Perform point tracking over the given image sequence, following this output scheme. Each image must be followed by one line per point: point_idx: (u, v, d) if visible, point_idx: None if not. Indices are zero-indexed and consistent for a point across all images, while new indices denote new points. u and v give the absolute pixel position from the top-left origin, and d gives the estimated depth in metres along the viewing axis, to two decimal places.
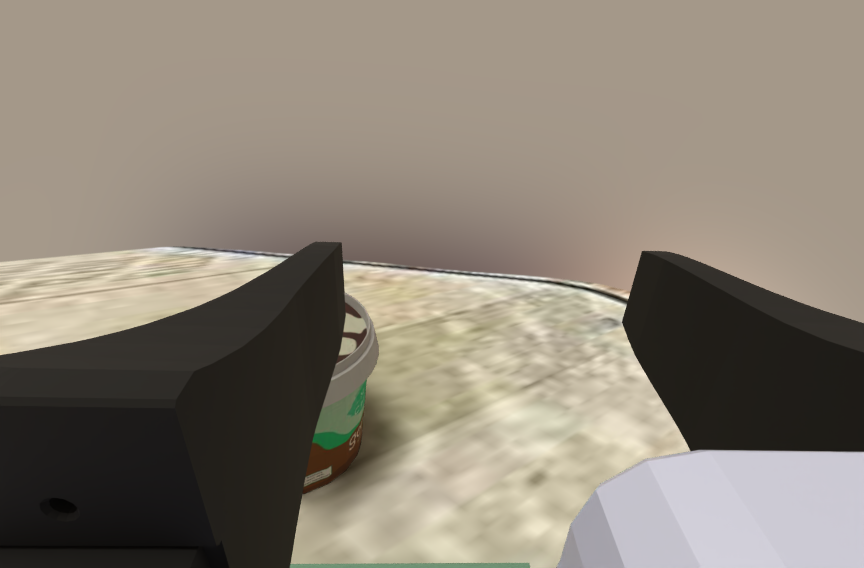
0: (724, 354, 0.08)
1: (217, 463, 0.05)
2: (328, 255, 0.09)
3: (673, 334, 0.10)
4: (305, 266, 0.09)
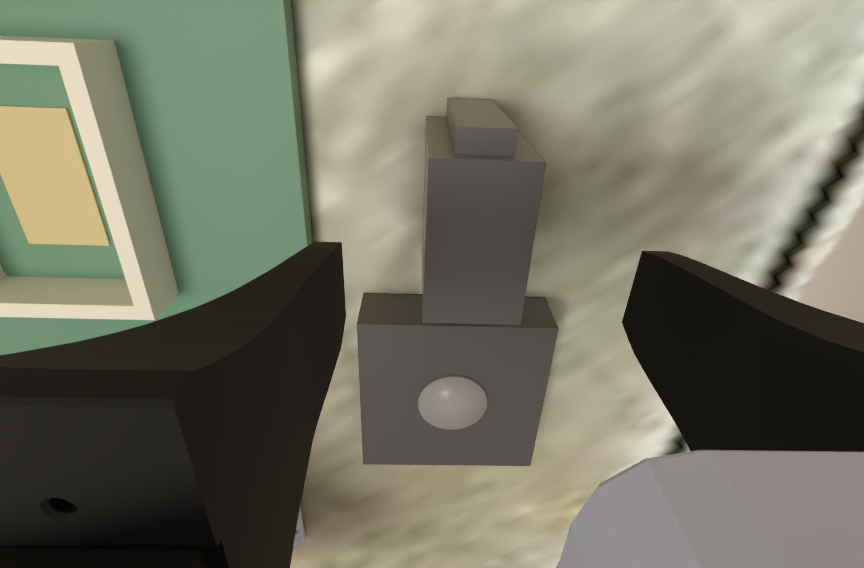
0: (724, 354, 0.08)
1: (217, 463, 0.05)
2: (328, 255, 0.09)
3: (673, 334, 0.10)
4: (305, 266, 0.09)
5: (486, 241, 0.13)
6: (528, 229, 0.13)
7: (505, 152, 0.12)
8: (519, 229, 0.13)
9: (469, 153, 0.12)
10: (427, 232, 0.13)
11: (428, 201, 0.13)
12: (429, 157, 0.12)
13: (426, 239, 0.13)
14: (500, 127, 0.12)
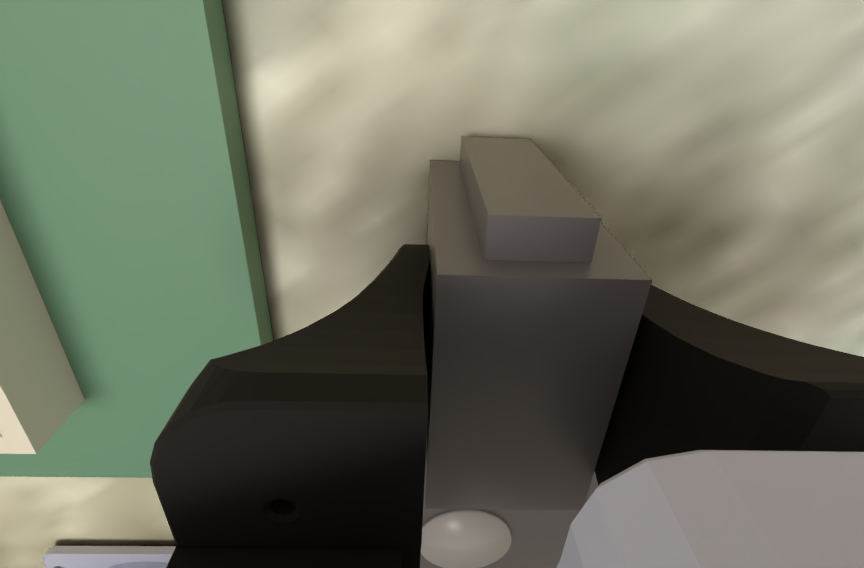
0: None
1: None
2: (429, 258, 0.10)
3: None
4: (414, 269, 0.09)
5: (534, 399, 0.08)
6: (609, 382, 0.08)
7: (574, 256, 0.07)
8: (593, 382, 0.08)
9: (509, 258, 0.07)
10: (434, 387, 0.07)
11: (436, 343, 0.07)
12: (439, 272, 0.07)
13: (432, 396, 0.08)
14: (568, 213, 0.07)
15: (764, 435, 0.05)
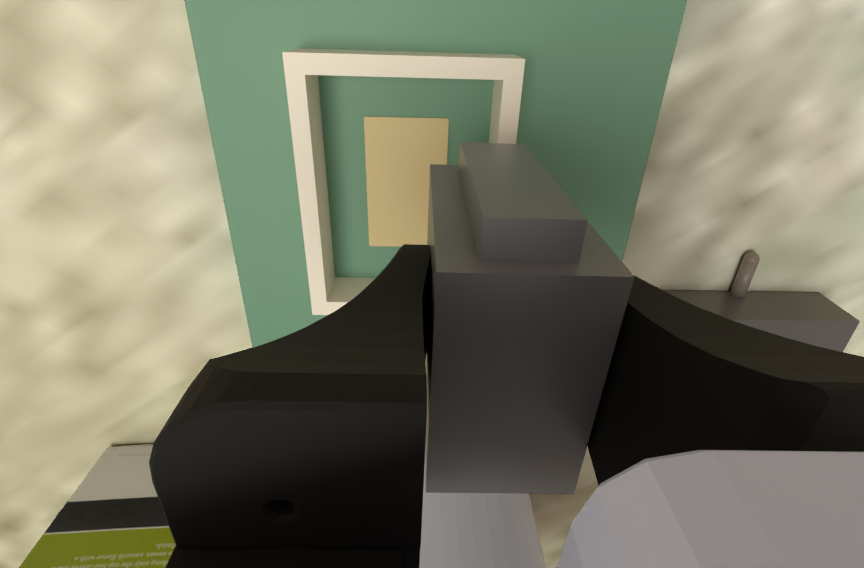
0: None
1: None
2: (429, 258, 0.10)
3: None
4: (414, 269, 0.09)
5: (527, 388, 0.08)
6: (596, 372, 0.08)
7: (563, 255, 0.08)
8: (582, 372, 0.08)
9: (503, 257, 0.08)
10: (434, 377, 0.08)
11: (435, 335, 0.08)
12: (438, 270, 0.07)
13: (432, 386, 0.08)
14: (557, 215, 0.07)
15: (765, 435, 0.05)
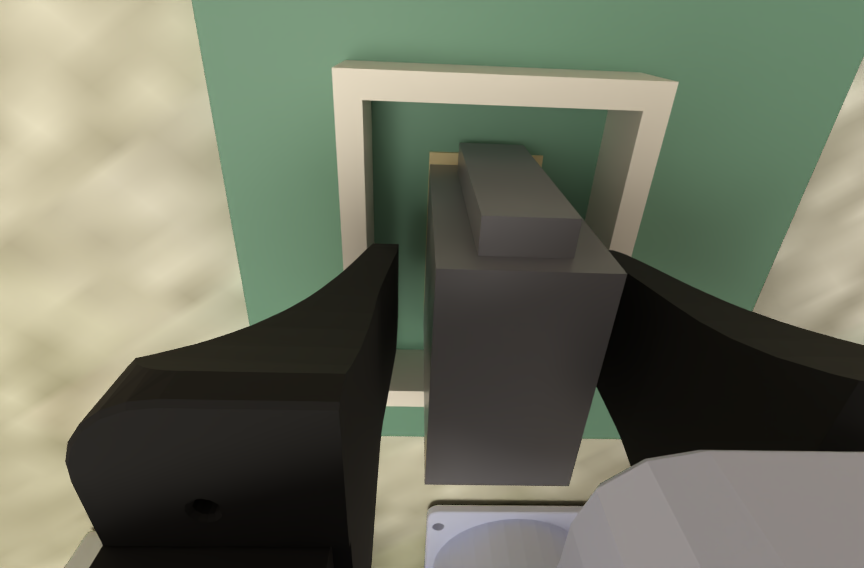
0: (652, 352, 0.08)
1: (350, 465, 0.05)
2: (393, 257, 0.10)
3: (611, 333, 0.10)
4: (375, 268, 0.09)
5: (523, 382, 0.08)
6: (590, 367, 0.08)
7: (558, 253, 0.08)
8: (576, 367, 0.08)
9: (500, 254, 0.08)
10: (433, 371, 0.08)
11: (435, 330, 0.08)
12: (437, 267, 0.07)
13: (431, 379, 0.08)
14: (552, 215, 0.08)
15: (835, 436, 0.05)
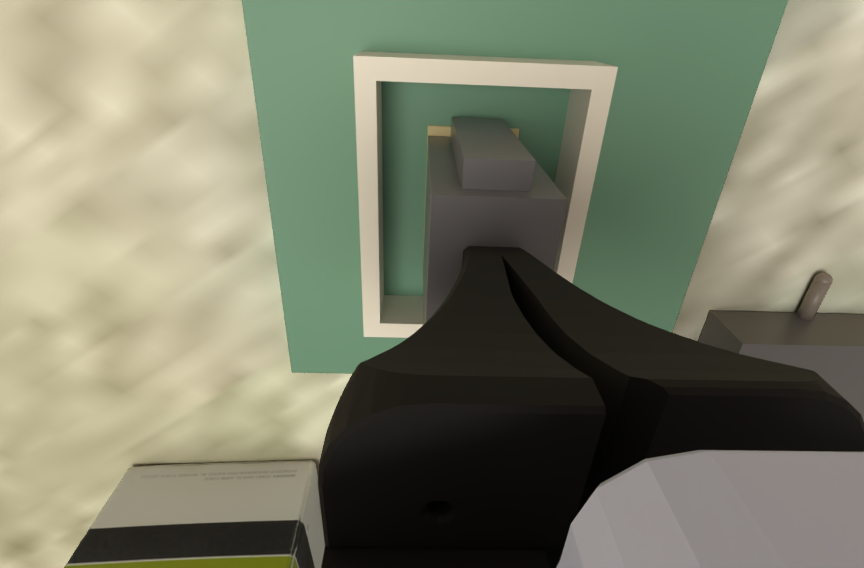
0: None
1: None
2: (502, 260, 0.10)
3: None
4: (493, 271, 0.09)
5: None
6: None
7: (519, 187, 0.11)
8: None
9: (478, 188, 0.11)
10: (429, 276, 0.11)
11: (431, 243, 0.11)
12: (432, 194, 0.10)
13: (428, 284, 0.12)
14: (514, 158, 0.11)
15: (619, 433, 0.05)
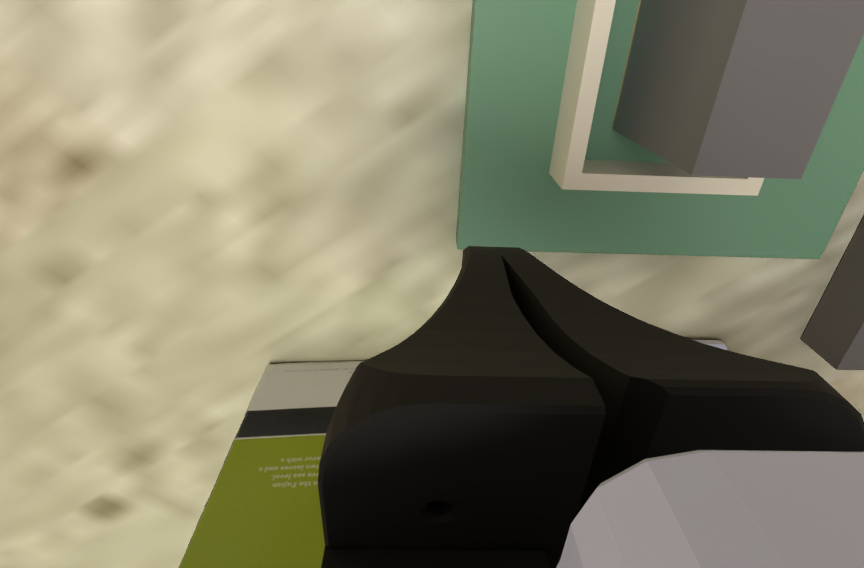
0: None
1: None
2: (502, 260, 0.10)
3: None
4: (492, 271, 0.09)
5: (796, 63, 0.11)
6: (849, 48, 0.11)
7: None
8: (838, 48, 0.11)
9: None
10: (732, 52, 0.11)
11: (746, 7, 0.11)
12: None
13: (727, 62, 0.11)
14: None
15: (621, 433, 0.05)
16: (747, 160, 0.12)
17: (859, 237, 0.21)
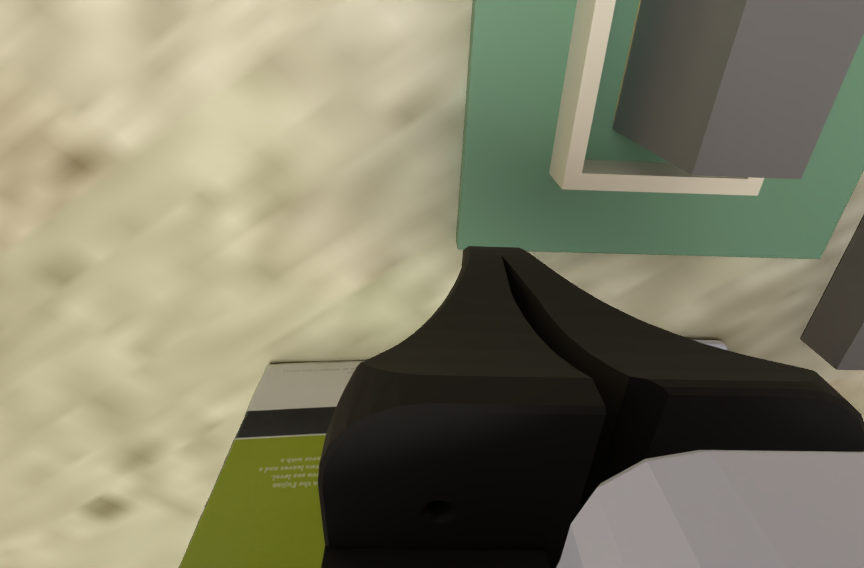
0: None
1: None
2: (502, 260, 0.10)
3: None
4: (492, 271, 0.09)
5: (796, 63, 0.11)
6: (849, 48, 0.11)
7: None
8: (838, 48, 0.11)
9: None
10: (732, 52, 0.11)
11: (746, 7, 0.11)
12: None
13: (727, 62, 0.11)
14: None
15: (621, 433, 0.05)
16: (747, 160, 0.12)
17: (859, 237, 0.21)
